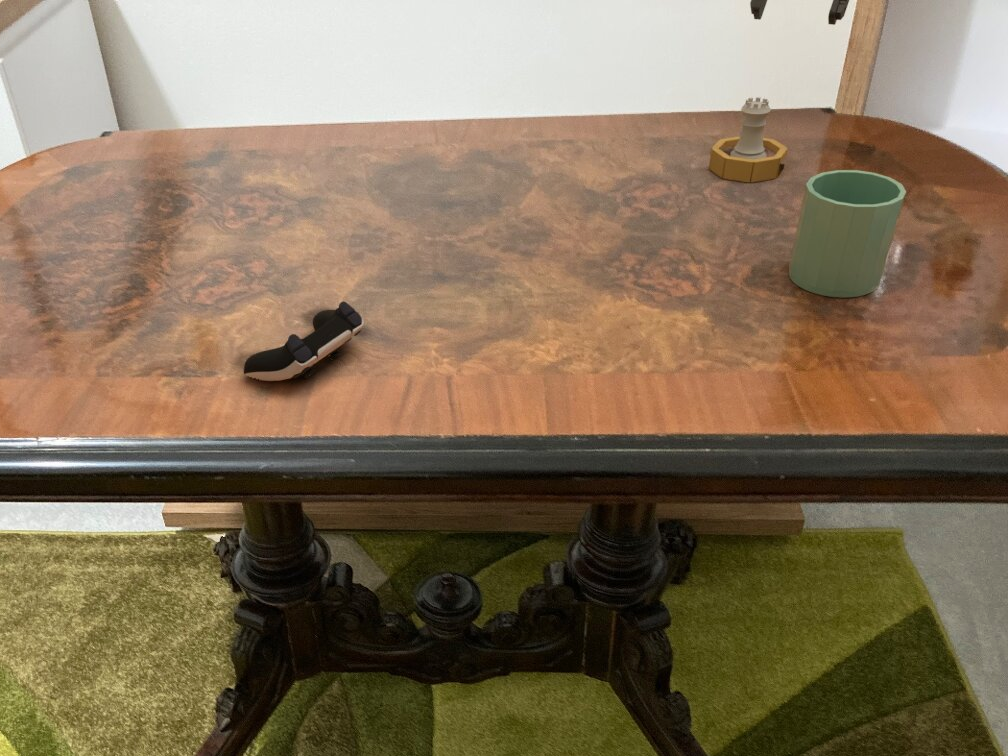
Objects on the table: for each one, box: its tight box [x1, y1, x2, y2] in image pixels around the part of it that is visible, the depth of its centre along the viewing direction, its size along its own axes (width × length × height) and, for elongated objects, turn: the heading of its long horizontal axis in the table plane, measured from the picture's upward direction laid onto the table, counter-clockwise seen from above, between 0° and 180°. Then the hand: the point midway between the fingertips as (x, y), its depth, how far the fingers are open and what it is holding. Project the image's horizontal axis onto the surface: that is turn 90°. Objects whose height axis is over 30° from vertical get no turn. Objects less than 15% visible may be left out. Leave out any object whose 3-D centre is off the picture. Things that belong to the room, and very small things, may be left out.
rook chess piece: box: [729, 96, 772, 160], centre depth 108 cm, size 4×4×8 cm
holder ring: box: [708, 135, 788, 184], centre depth 109 cm, size 8×8×2 cm
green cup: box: [788, 169, 907, 299], centre depth 86 cm, size 8×8×9 cm
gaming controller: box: [243, 301, 364, 382], centre depth 81 cm, size 11×4×7 cm
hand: (793, 18), depth 108 cm, fingers open, 8 cm apart
